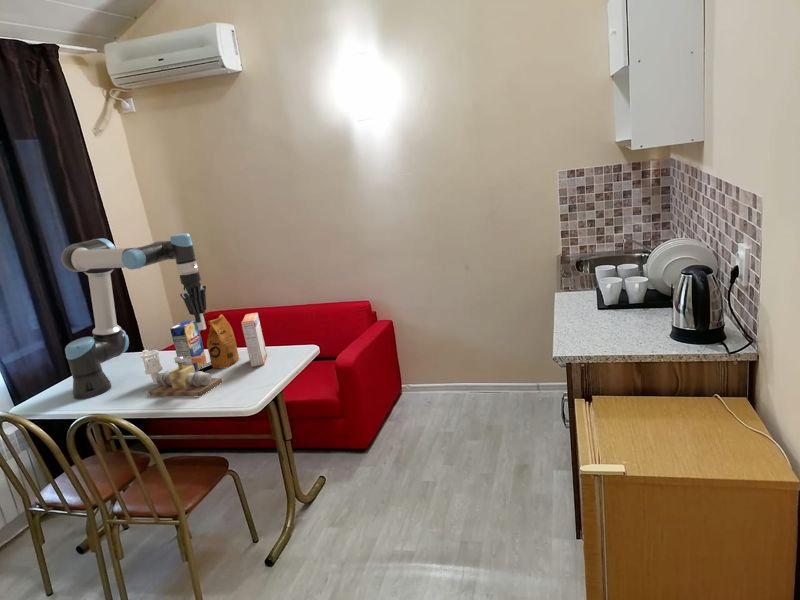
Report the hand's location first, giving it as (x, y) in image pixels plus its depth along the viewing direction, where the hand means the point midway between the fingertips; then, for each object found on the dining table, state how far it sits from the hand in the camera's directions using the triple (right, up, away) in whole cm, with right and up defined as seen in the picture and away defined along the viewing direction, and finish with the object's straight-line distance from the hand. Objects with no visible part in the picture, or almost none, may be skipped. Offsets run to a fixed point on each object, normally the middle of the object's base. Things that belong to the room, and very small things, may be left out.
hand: (202, 329), depth 241 cm
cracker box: (+17, -16, +26) cm, 35 cm away
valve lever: (-5, -13, -1) cm, 14 cm away
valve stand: (-8, -25, +3) cm, 26 cm away
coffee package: (+1, -17, +29) cm, 34 cm away
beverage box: (-12, -20, +26) cm, 35 cm away
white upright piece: (-25, -24, +17) cm, 39 cm away
